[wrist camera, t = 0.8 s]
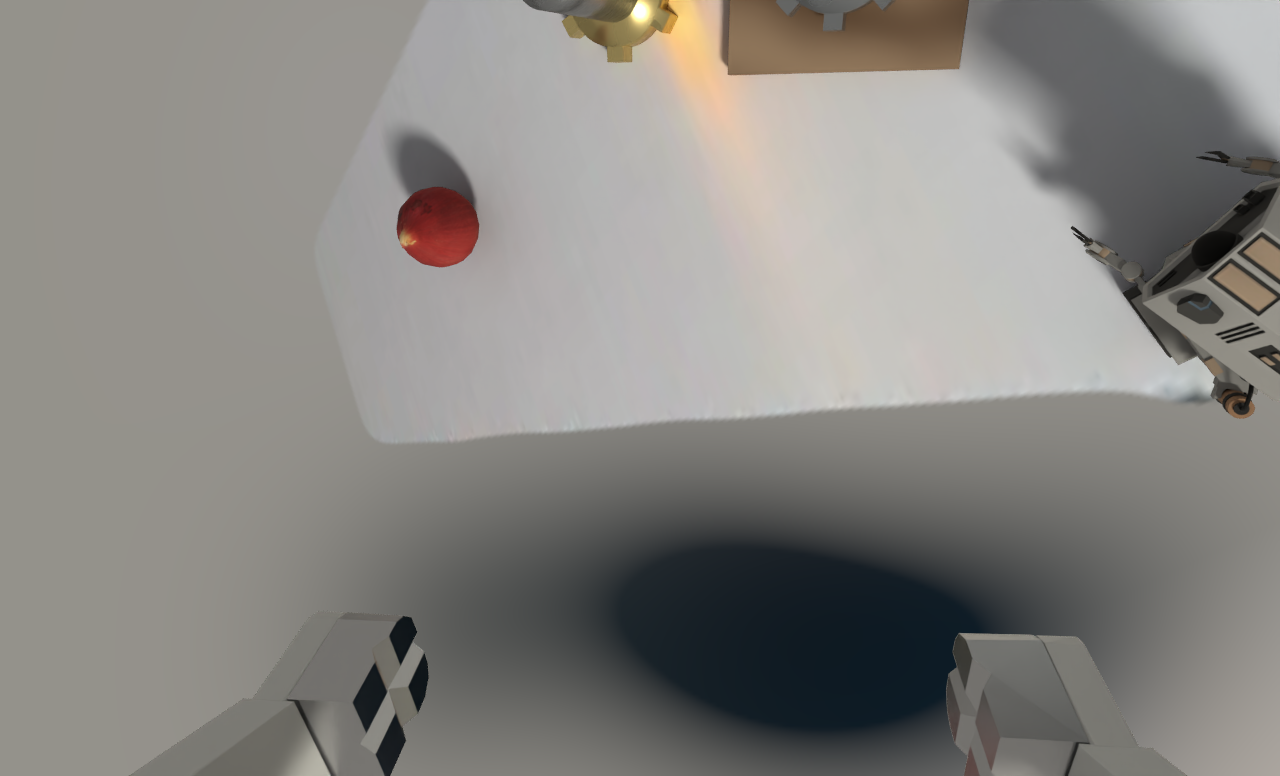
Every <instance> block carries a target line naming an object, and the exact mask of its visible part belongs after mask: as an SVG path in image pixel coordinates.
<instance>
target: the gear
mask: <svg viewBox="0 0 1280 776" xmlns="http://www.w3.org/2000/svg"><path fill="white" fill-rule="evenodd" d="M523 1H524V2H525V3H526V4H527V5H529V6H530V7H532V8H534V9H537V10H543V11H548V12H554V13H560V14H565V15H569V16H568V17H566V18H565V19H564V20H563V21H562V23H563V25H564V27H565V29H566V31H567V32H568V34H569V36H570V37H572V38H581V37H583V36H584V35H586V36H587V37H588V38H589V39H590V40H592V41H593V42H595V43H597V44H600V45H602V46H607V57H608V62H615V63H621V62H632V47H633V46H637V45H639V44H641V43H643V42H644V41H646V40H647V39H648V38H649V37H651V36H652V35H653V33H654V32H655V31H656V30H659V31H660V32H662V33H668V34H670V33H671V31H672V28H673V26H674V24H675V22H676V20H677V18H678V16H677V15H675V14H673V13H672V12H670V11H669V10H667V7H668V2H669V0H523Z"/></svg>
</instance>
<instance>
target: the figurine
mask: <svg viewBox="0 0 1280 776" xmlns="http://www.w3.org/2000/svg"><path fill="white" fill-rule="evenodd" d="M1205 153H1210V154H1215V155H1218V156H1219V157H1220V159H1215V158H1210V157H1203V156H1202V157H1196V158H1200V159H1205V160H1210V161H1216V162H1221V163H1227V165H1226V166H1233V167H1242V169H1241V171H1242V172H1245V173H1249V174H1255V175H1264V176H1270V177H1274V178H1278V179H1274V180H1270V181H1266V182H1261V183H1260V184H1259V185H1258V186H1257V187H1256V188H1254V189H1253V190H1250V191H1249V192H1248V193H1247V194H1246V195H1245V196H1244V197H1242V200H1241V201H1239V202H1238V203H1237V204H1236V205H1235V206H1234V207H1233V208H1231V209H1230V210H1229V211H1228V212H1227V213H1226V214H1225V215H1223V216H1222V217H1221V218H1220V219H1219V220H1218V221H1216V222H1215V223H1214V224H1213V225H1212V226H1211V227H1210V228H1208V229H1207V230H1206V231H1205V232H1204V233H1203V234H1201V235H1200V236H1199V237H1198V238H1196V239H1194V240H1193V241H1191V242H1189V243H1187V244H1185V245H1183V246H1184V248H1182V249H1180V250H1178V251H1176V252H1175V253H1173V254H1171V255H1169V256H1167V257H1166V259H1165V262H1164V265H1163V268H1162V270H1161V271H1160V272H1159V273H1158V274H1157V275H1155V276H1154V277H1153V278H1151V280H1150V281H1149V282H1146V281H1143V279H1142V278H1143V276H1144V271H1143V269H1142V267H1141V265H1140V264H1139V263H1137V262H1128V263H1127V262H1126V261H1125V260H1124V259H1122V258H1120V257H1119V256H1118V254H1117V253H1116V252H1115V251H1114V250H1112V249H1111V248H1109V247H1107V246H1106V245H1104V244H1102V243H1100V242H1098V241H1093V240H1092V239H1091V238H1090V239H1089V238H1088V237H1086V236H1085V235H1084V234H1082V233H1081V232H1080V231H1078V230H1077V229H1076V228H1074V227H1073V226H1072V227H1071V229H1072V230H1074V231H1075V232H1076V233H1078V234H1079V235H1080V236H1082V237H1083V238H1084V239H1085V240H1084V239H1083V238H1082V237H1080V236H1078V235H1076V234H1074V233H1073V234H1074V235H1075V236H1076V237H1077V238H1078V239H1080V240H1081V241H1082V242H1083V243H1085V245H1084V246H1085V247H1087V248H1088V249H1090V250H1087V249H1086V250H1085V251H1086V253H1087V254H1089V255H1090V256H1092V257H1093V258H1095V259H1096V260H1098V261H1100V262H1101V263H1103V264H1105V265H1110V266H1112V267H1113V268H1115V269H1116V270H1117V271H1120V272H1121V274H1122V275H1123V276H1124V278H1125V279H1126V280H1127V281H1128V282H1137V284H1138V285H1137V286H1135V287H1133V288H1131V289H1129V290H1127V291H1126V292H1124V293H1123V295H1124V296H1125V297H1126V299H1127V300H1128V302H1129V303H1130V304H1131V306H1132V307H1133V309H1134V310H1135V311H1136V313H1137V314H1138V316H1139V317H1140V318H1141V320H1142V321H1143V322H1144V324H1145V325H1146V327H1147V328H1148V329H1149V331H1150V332H1151V333H1152V335H1153V336H1154V338H1155V339H1156V340H1157V342H1158V343H1159V345H1160V346H1161V347H1162V349H1163V350H1164V352H1165V353H1166V354H1167V355H1168V356H1169V357H1170V358H1171V357H1173V358H1174V360H1175V361H1176V363H1177V364H1178V365H1180V364H1182V363H1184V362H1186V361H1188V360H1190V359H1192V358H1195V357H1197V356H1198V357H1199V359H1200V360H1201V361H1202V362H1203V363H1204V364H1205V365H1206V366H1207V367H1208V369H1209V370H1210V372H1211V373H1212V374H1213V375H1214V376H1215V378H1214V381H1213V383H1214V384H1215V385H1214V388H1213V390H1212V393H1211V396H1212V398H1213V399H1216V400H1217V401H1218V402H1219V403H1221V404H1222V405H1223V407H1224V409H1225V410H1226V411H1227V412H1228V413H1229V414H1231V415H1232V416H1233V417H1235V418H1247V417H1249V416H1251V415H1252V414H1253V412H1254V410H1255V407H1254V404H1253V403H1252V401H1251V398H1252V396H1253V394H1257V392H1258V390H1259V391H1261V392H1262V393H1263V394H1265V395H1266V396H1267V397H1269V398H1270V399H1272V400H1274V401H1278V402H1280V163H1279V161H1277V160H1275V159H1270V158H1264V157H1247V158H1246V160H1245V159H1240V158H1236V157H1232V156H1230V157H1229V156H1227V155H1226V154H1224V153H1222V152H1220V151H1213V152H1205Z"/></svg>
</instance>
